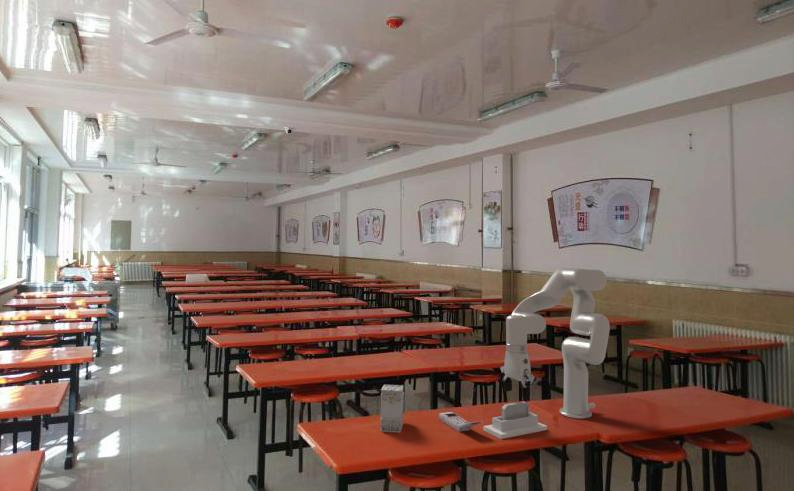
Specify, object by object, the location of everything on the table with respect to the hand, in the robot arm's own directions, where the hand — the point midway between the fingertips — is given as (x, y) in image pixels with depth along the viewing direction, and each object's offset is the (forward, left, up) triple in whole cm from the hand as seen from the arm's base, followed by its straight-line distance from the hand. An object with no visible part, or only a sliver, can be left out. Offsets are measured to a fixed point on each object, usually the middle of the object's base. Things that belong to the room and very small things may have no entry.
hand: (516, 394), depth 189 cm
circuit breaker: (+40, -24, -13) cm, 48 cm away
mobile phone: (+18, -12, -14) cm, 26 cm away
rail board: (+1, 0, -13) cm, 13 cm away
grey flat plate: (+1, 0, -11) cm, 11 cm away
